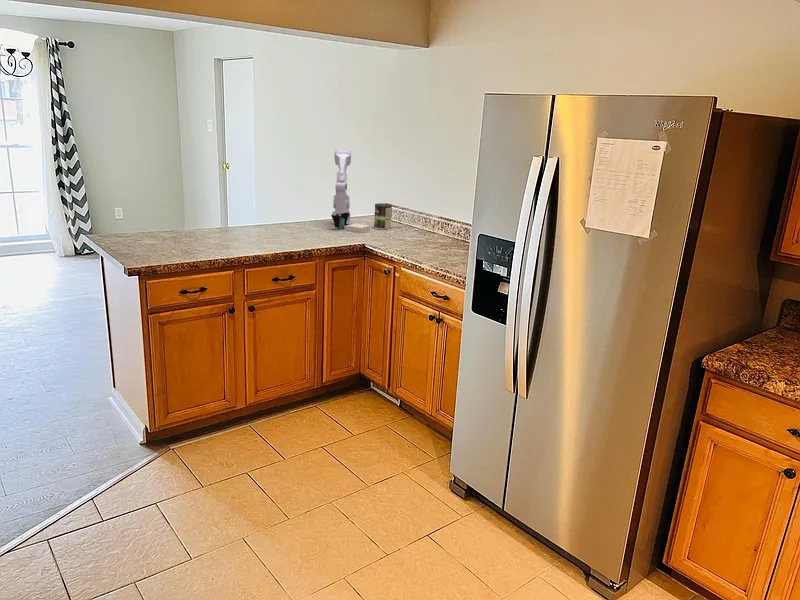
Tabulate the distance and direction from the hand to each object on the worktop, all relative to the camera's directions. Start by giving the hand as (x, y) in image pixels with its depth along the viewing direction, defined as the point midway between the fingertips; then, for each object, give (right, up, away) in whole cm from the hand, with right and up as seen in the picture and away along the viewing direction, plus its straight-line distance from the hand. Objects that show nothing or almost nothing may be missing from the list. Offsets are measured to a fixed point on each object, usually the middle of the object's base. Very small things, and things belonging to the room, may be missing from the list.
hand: (340, 226), depth 355 cm
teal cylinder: (0, -1, 0) cm, 2 cm away
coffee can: (+24, 0, +10) cm, 26 cm away
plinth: (+11, -3, -3) cm, 11 cm away
